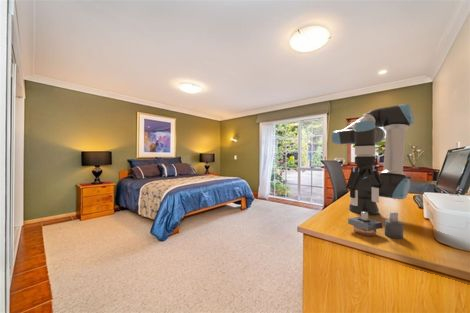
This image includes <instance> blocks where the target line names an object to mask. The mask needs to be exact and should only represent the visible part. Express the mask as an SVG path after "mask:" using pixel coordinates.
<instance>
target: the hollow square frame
mask: <svg viewBox="0 0 470 313" xmlns="http://www.w3.org/2000/svg"><path fill="white" fill-rule="evenodd" d="M347 224H348V225H350V226H352V227H353V226H356V227H358V228H361V229H364V230H367V231H370V230H375V229H376V230H379V229H383V222H382V221H378V220H376V219H372V218H369V217H368V222H363V221H361V215H360V216H355V217H348V218H347Z"/></svg>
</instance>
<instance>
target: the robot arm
mask: <svg viewBox="0 0 470 313" xmlns="http://www.w3.org/2000/svg"><path fill="white" fill-rule="evenodd" d="M414 116H415V115H414V112H413V108H412V106H411V105H410V104H408V103H406V104H405V103H403V104H396V105H391V106H385V107H379V108H374V109H372V110H370V111H367V112H366V113H363V114H362V115H360V116H359V117H358V119H357V120H356V121H353V123H351V124H349V125H348V126H347V127H345V128H342V129H339V130H334V131H333V132H332V133H331V141H332V143H333V144H334V145H340V146H341V145H351V144H352V145H354V155H355V156H354V164H355V165H356V166H355V167H354V166H352V167H350V168H351V170H350V174H349V178H348V180H347V182H346V186H345V188H346V189H347V190H348V191H349V196H350V204H349V205H348V206H349V208H348V209H349V211H351V212H353V213H356V214H359V215H361V212H362V211H363V212H368V216H369V215H370V216H374V215H375V216H377V215H379V213H380V212H379V211H380V209H379V206H378V204H377V203H379V202H380V198H388V199H392V200H404V199H406V198H407V196H408V195H409V191H410V188H411V180H410V178H408V177H407V174H406V173H404V160H405V147H406V146H405V145H406V144H405V143H406V131H407V130H409V129H410V126H411V125H414V123H415V122H414V121H415V117H414ZM385 132H386V133H385ZM384 139H385V143H384V156H383V157H384V158H383V170H382V171H381V172H379V167H378V166H377V165H376V156H375V155H376V144H377V143H380V142H382V141H383V140H384Z"/></svg>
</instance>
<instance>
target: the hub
mask: <svg viewBox="0 0 470 313" xmlns="http://www.w3.org/2000/svg"><path fill="white" fill-rule="evenodd" d="M360 216H361V221H363V222H368V218H369V215H368V212H363V211H362V212H361V214H360ZM352 227H353V230H352V231H353V233H355V234H357V235H359V236H364V237H376V236H377V229H375V230H370V231H367V230H364V229H361V228H358V227H356V226H353V225H352Z"/></svg>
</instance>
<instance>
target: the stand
mask: <svg viewBox="0 0 470 313" xmlns="http://www.w3.org/2000/svg"><path fill="white" fill-rule="evenodd" d="M384 235H385V237H388V238H391V239H395V240H403V239H404V222H402V221H399V212H397V211H389V219H385V220H384Z"/></svg>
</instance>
